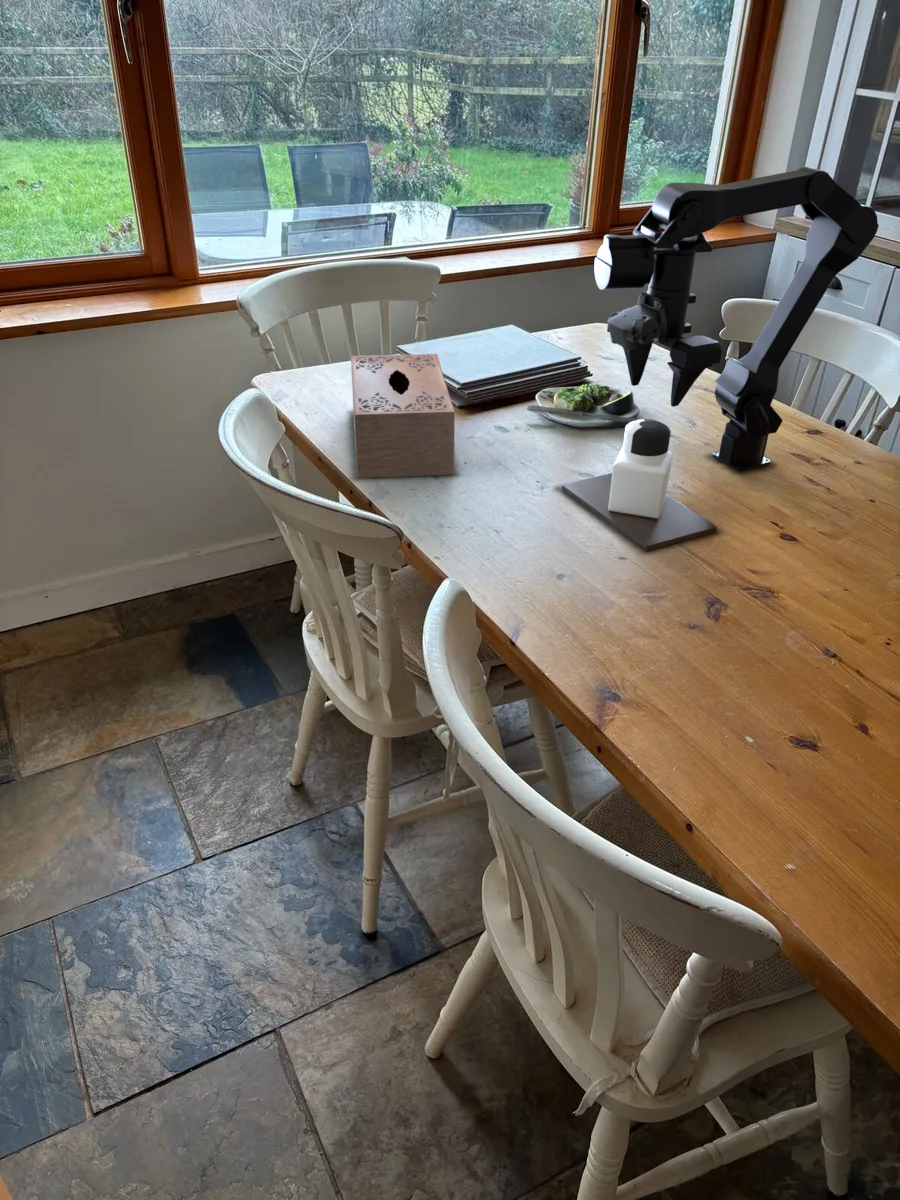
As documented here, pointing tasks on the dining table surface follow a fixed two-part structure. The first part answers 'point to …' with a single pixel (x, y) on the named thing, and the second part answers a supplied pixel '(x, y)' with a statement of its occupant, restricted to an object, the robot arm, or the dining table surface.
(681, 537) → the walnut mat
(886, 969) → the dining table surface
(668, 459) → the medicine bottle
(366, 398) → the tissue box cover
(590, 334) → the dining table surface
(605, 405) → the salad plate
